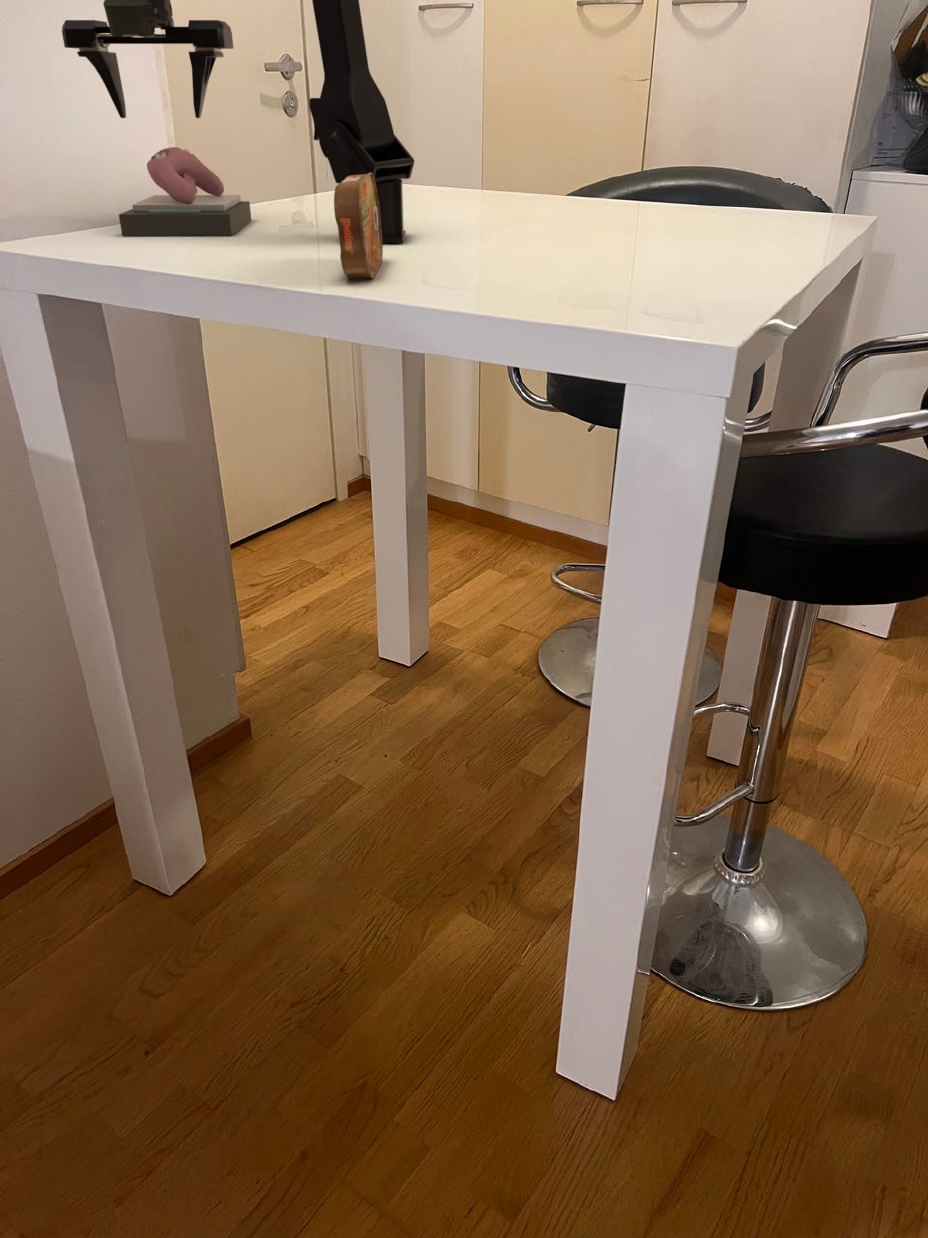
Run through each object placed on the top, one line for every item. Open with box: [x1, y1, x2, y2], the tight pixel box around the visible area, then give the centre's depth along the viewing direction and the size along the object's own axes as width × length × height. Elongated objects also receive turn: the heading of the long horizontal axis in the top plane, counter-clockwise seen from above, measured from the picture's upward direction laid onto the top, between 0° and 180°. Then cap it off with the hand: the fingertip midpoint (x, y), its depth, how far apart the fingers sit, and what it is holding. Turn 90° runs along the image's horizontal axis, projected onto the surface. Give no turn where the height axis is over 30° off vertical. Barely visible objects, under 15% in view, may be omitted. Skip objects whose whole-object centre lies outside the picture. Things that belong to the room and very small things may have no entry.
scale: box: [118, 194, 252, 237], centre depth 116 cm, size 13×13×3 cm
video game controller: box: [146, 146, 225, 204], centre depth 115 cm, size 10×5×7 cm, turn 168°
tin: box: [333, 173, 384, 279], centre depth 89 cm, size 15×3×8 cm, turn 179°
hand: (160, 117), depth 115 cm, fingers open, 9 cm apart
